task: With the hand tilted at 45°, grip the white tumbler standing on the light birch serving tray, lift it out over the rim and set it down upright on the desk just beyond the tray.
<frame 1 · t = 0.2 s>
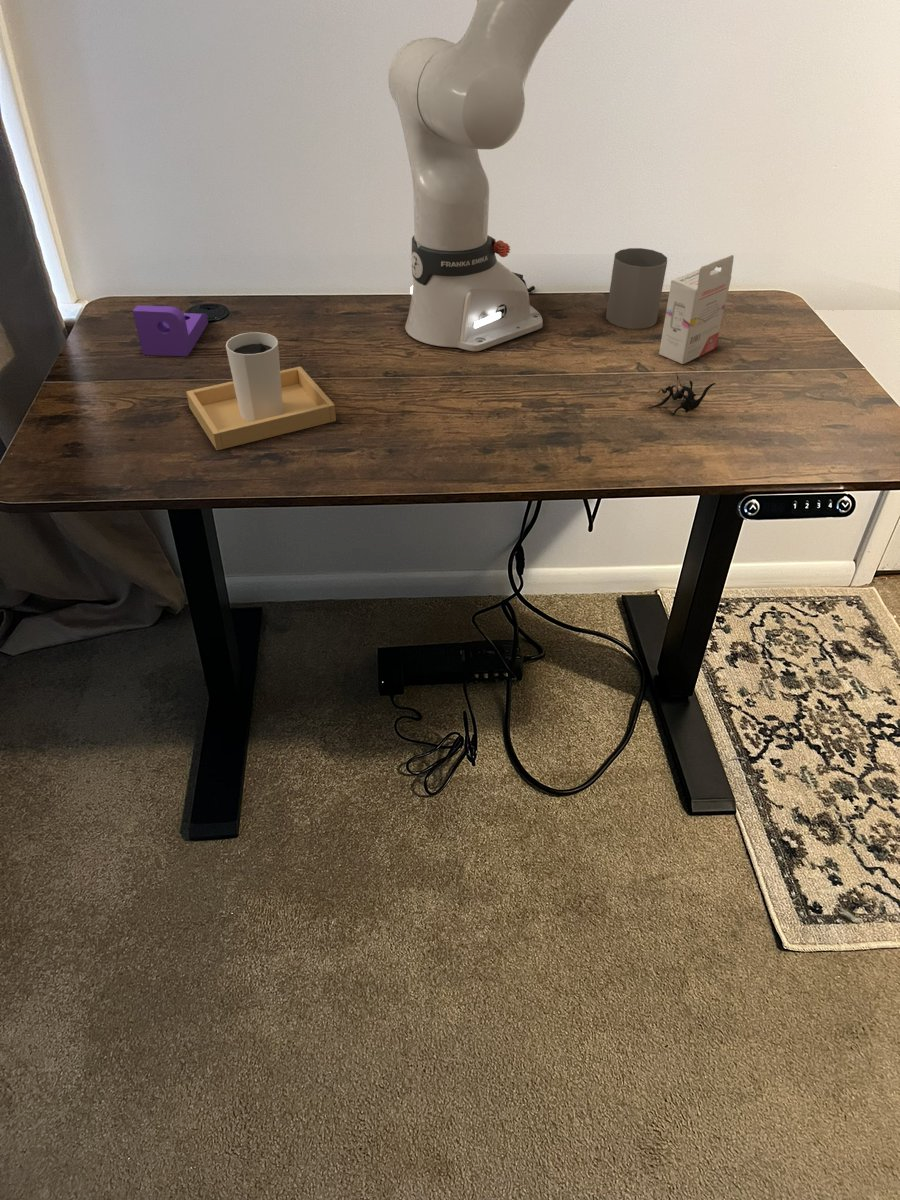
bracket: (176, 339, 135), on the table
ink cartridge box: (686, 353, 134), on the table
cup: (630, 319, 144), on the table
tray: (262, 414, 118), on the table
white tumbler: (262, 413, 118), resting on tray
creature: (674, 409, 121), on the table
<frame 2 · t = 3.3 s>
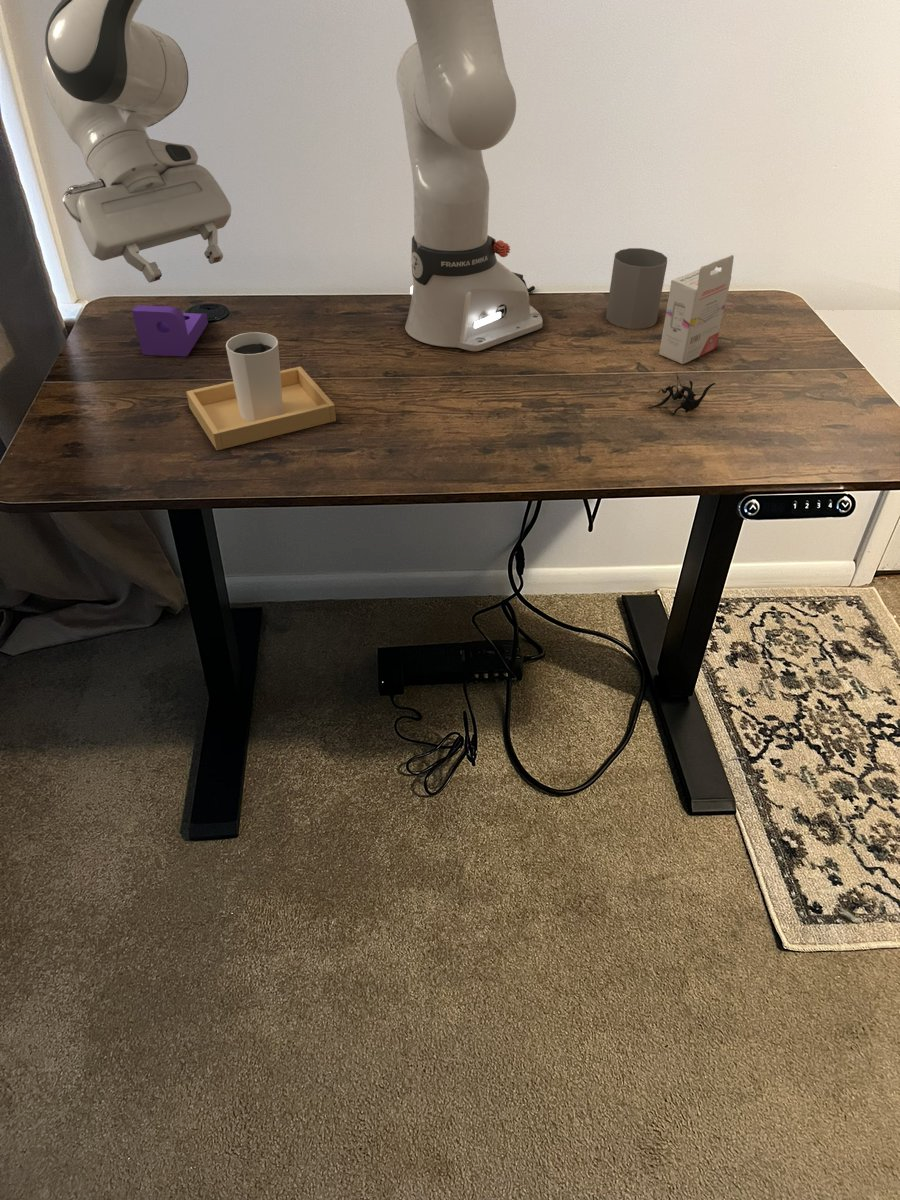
hand: (187, 269, 113), 16 cm above the table, tool tilted 45°, fingers open, 8 cm apart
nothing on the table moved.
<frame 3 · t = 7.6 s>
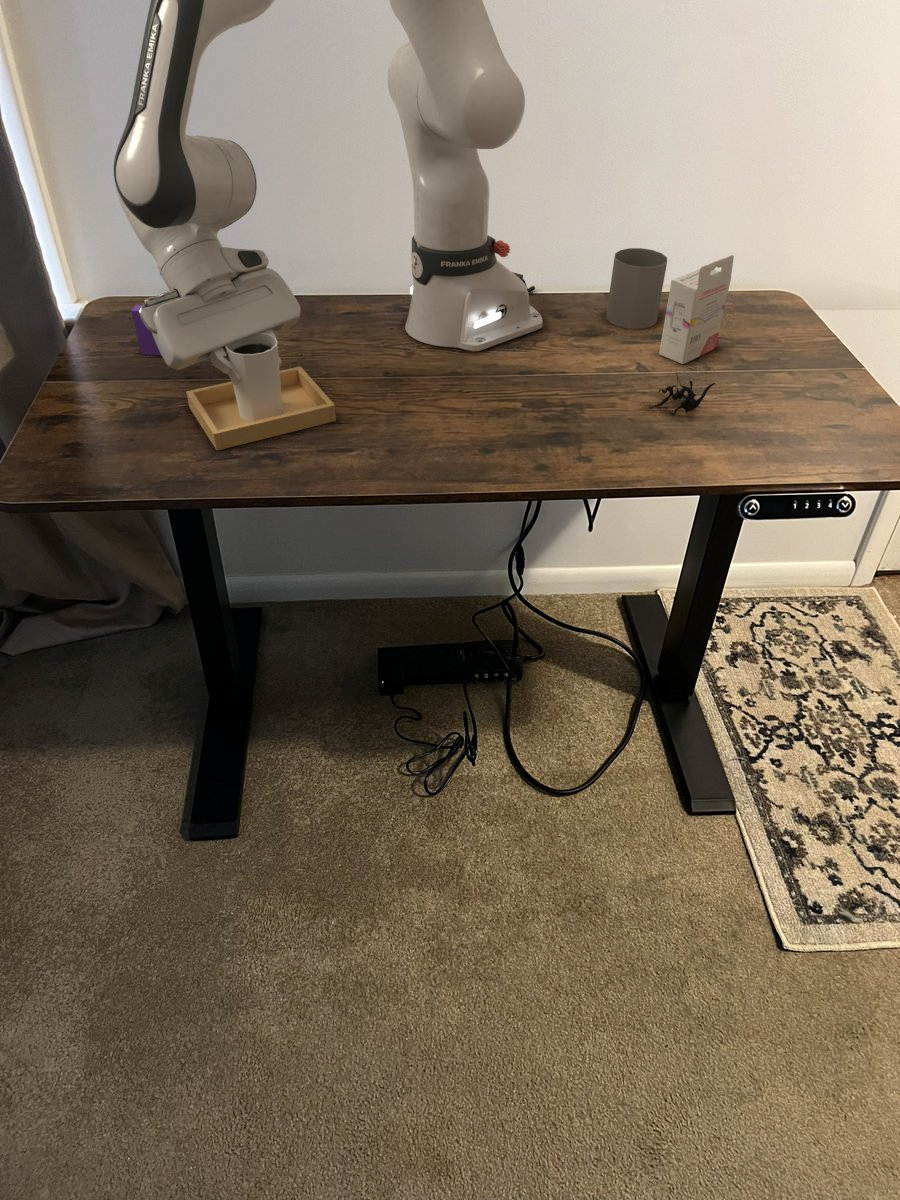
hand: (259, 374, 114), 6 cm above the table, tool tilted 45°, fingers closed on white tumbler, 4 cm apart
white tumbler: (261, 413, 118), resting on tray, touching gripper
everything else where it was.
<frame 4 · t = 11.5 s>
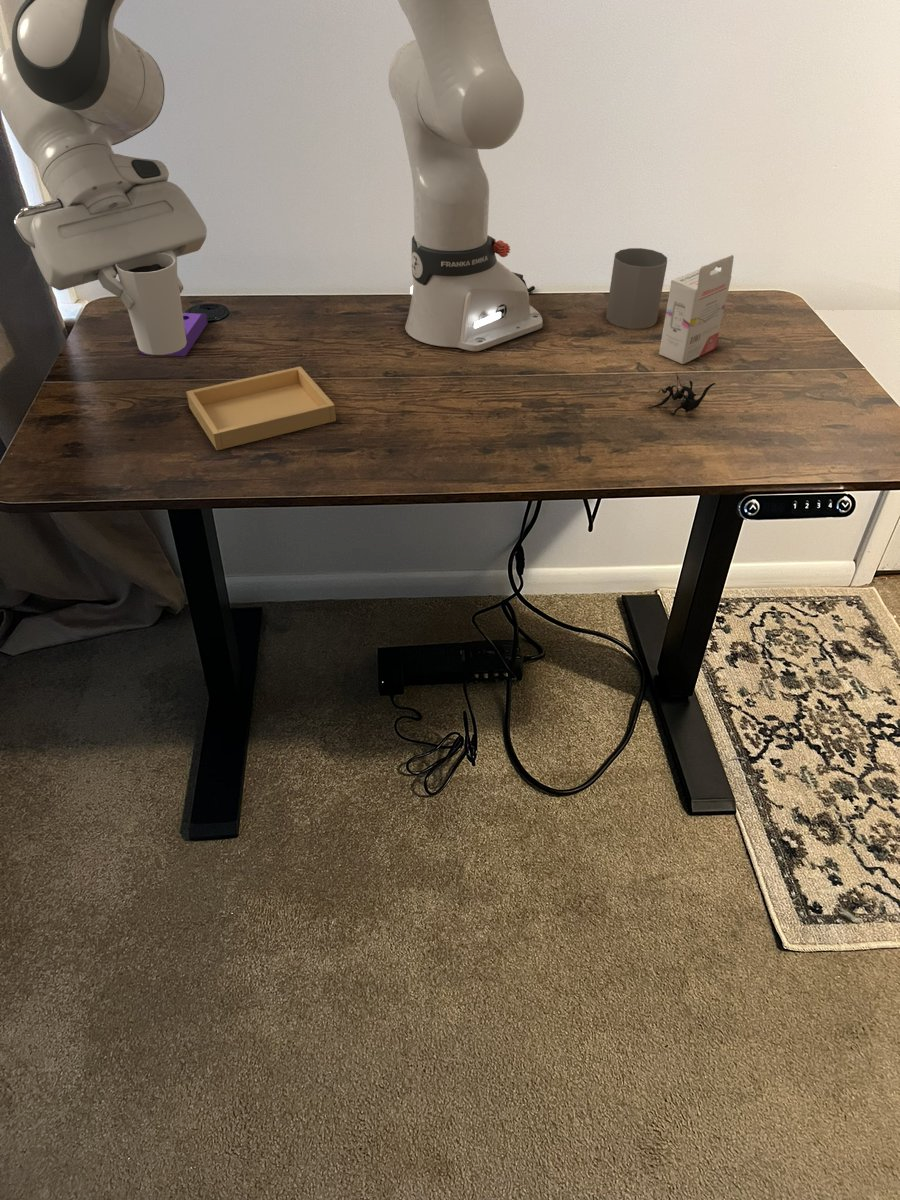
hand: (156, 299, 102), 18 cm above the table, tool tilted 45°, fingers closed on white tumbler, 4 cm apart
white tumbler: (162, 346, 106), point 12 cm above the table, touching gripper
everything else where it was.
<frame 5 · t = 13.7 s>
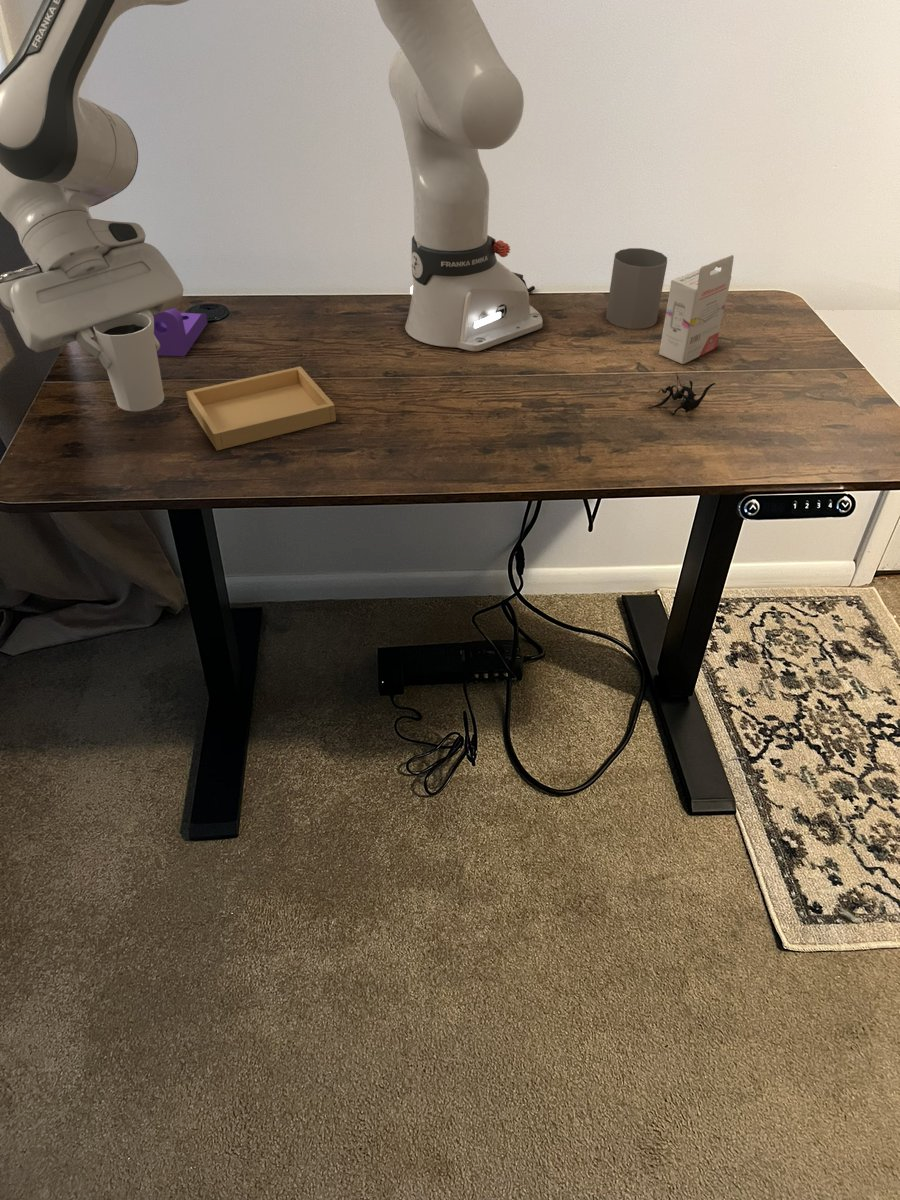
hand: (134, 358, 104), 12 cm above the table, tool tilted 45°, fingers closed on white tumbler, 4 cm apart
white tumbler: (141, 401, 109), point 6 cm above the table, touching gripper
everything else where it was.
when the fingers open (6 cm above the table, at t = 15.7 s): white tumbler stays where it is, on the table.
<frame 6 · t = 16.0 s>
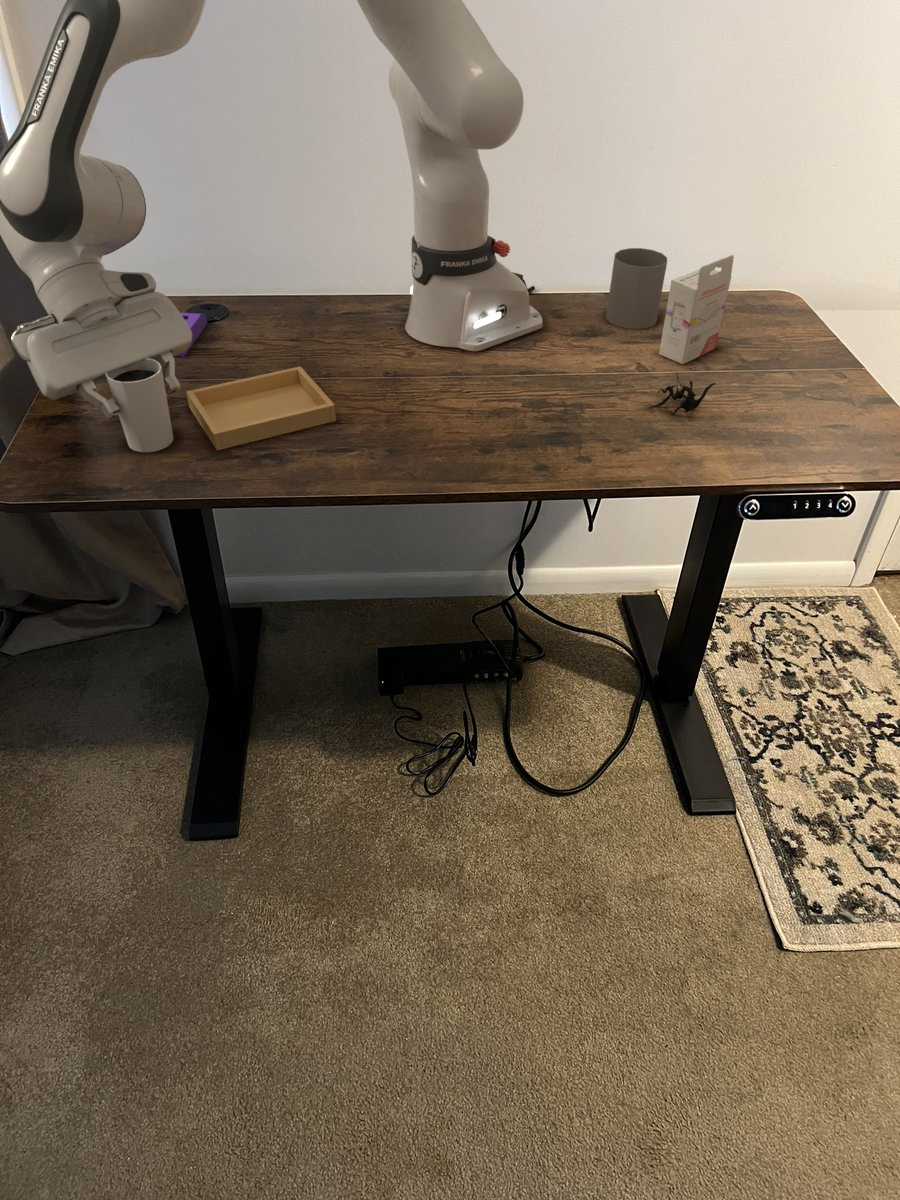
hand: (145, 403, 108), 6 cm above the table, tool tilted 45°, fingers open, 7 cm apart
white tumbler: (151, 441, 113), on the table
everything else where it was.
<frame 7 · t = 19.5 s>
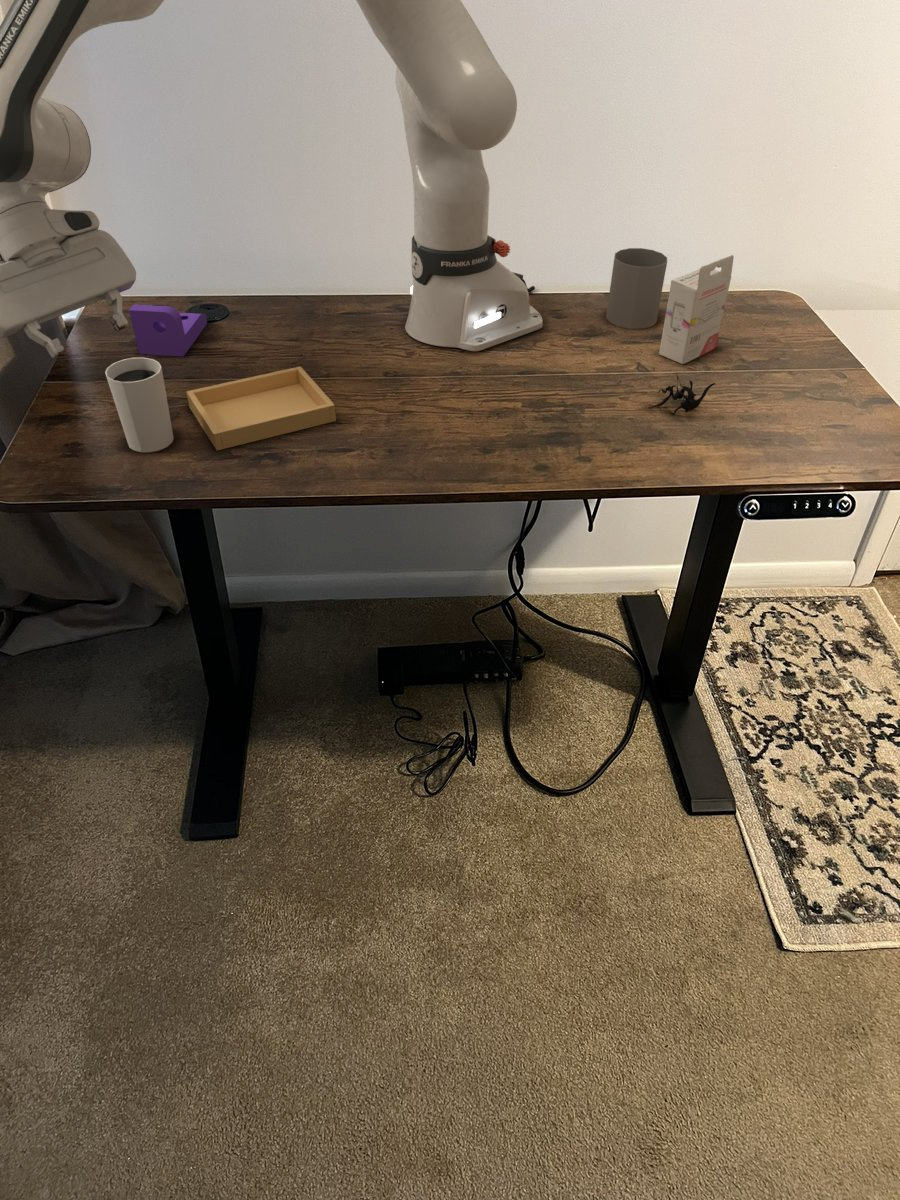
hand: (91, 341, 114), 9 cm above the table, tool tilted 40°, fingers open, 8 cm apart
nothing on the table moved.
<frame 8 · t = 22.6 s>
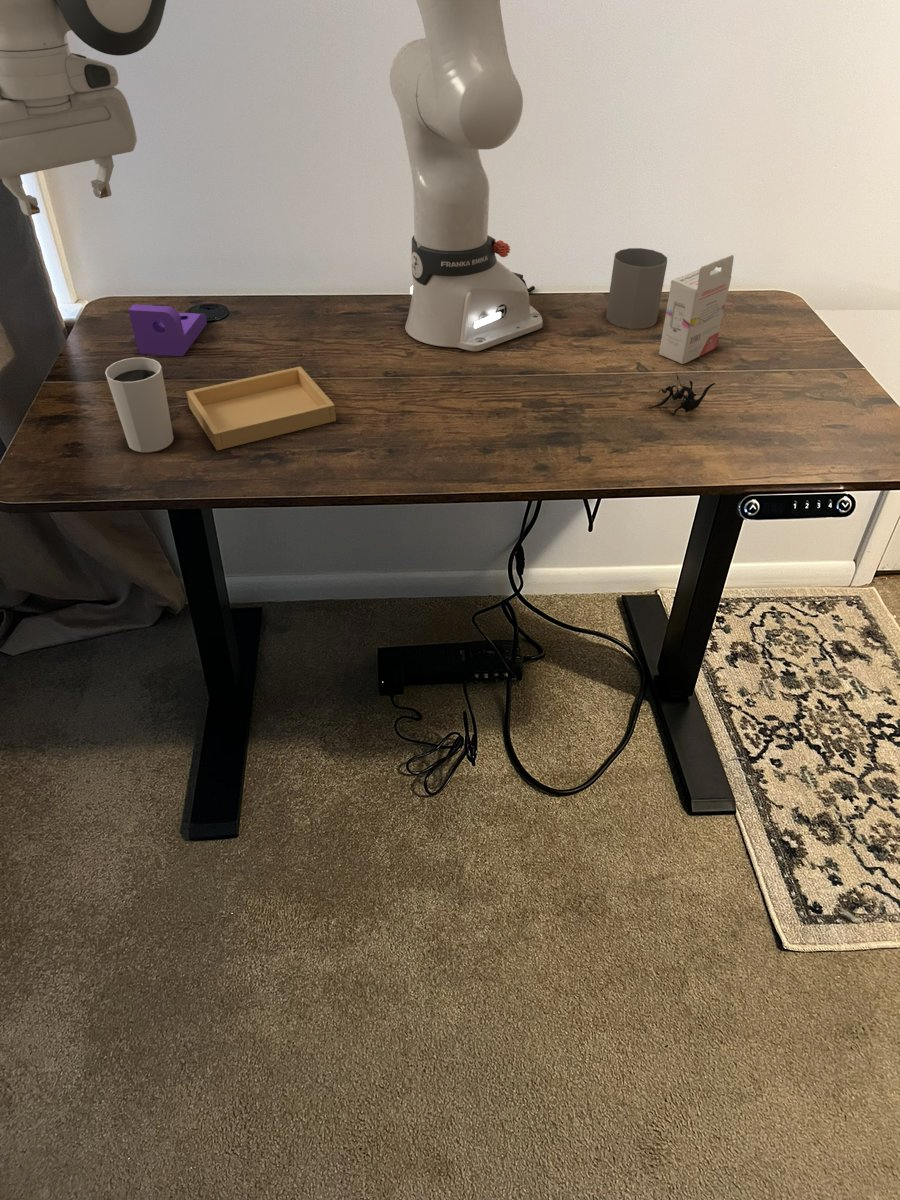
hand: (68, 204, 106), 25 cm above the table, tool pointing down, fingers open, 8 cm apart
nothing on the table moved.
at the end: white tumbler inside the target area (0.0 cm from its centre), on the table; white tumbler tilted 0°; the gripper is holding nothing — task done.
